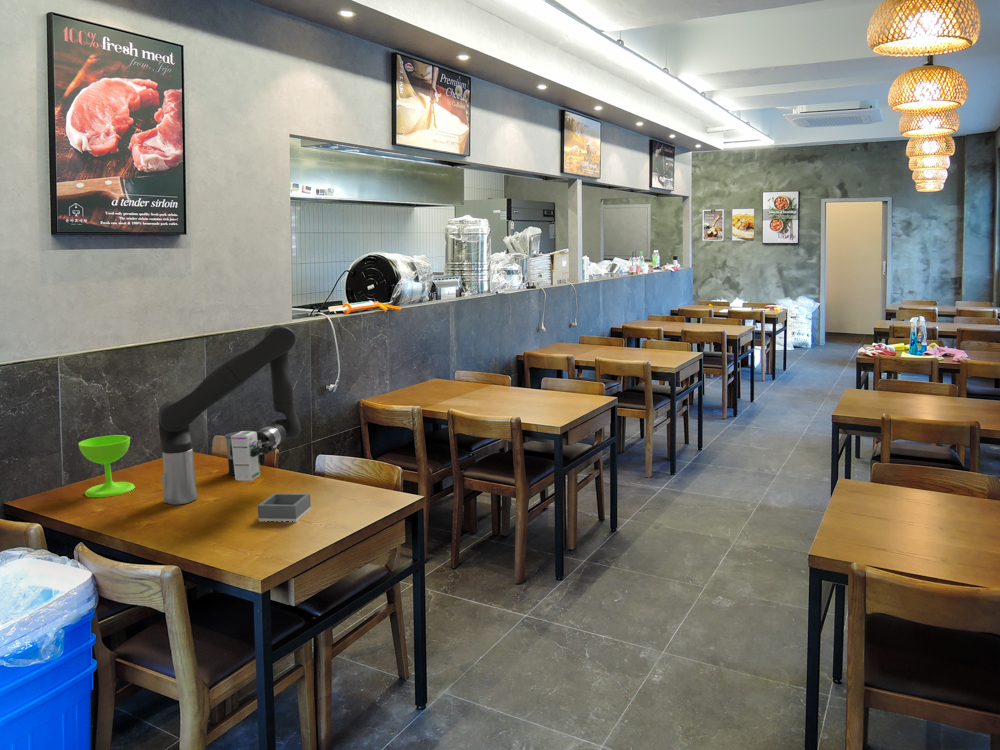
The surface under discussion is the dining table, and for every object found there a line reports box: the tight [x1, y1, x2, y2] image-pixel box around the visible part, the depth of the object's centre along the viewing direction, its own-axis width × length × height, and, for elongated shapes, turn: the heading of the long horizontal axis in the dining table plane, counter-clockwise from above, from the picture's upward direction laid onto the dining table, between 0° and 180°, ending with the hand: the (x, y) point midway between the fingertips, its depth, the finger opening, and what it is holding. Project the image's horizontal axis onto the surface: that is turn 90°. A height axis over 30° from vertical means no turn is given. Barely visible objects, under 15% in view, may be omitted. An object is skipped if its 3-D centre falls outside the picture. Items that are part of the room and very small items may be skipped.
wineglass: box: [78, 434, 136, 498], centre depth 264 cm, size 16×16×18 cm
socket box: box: [257, 492, 312, 523], centre depth 235 cm, size 12×12×5 cm
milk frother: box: [224, 431, 266, 476], centre depth 287 cm, size 14×16×15 cm
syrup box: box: [231, 430, 262, 482], centre depth 236 cm, size 6×6×14 cm
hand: (242, 453), depth 233 cm, fingers closed on syrup box, 6 cm apart
